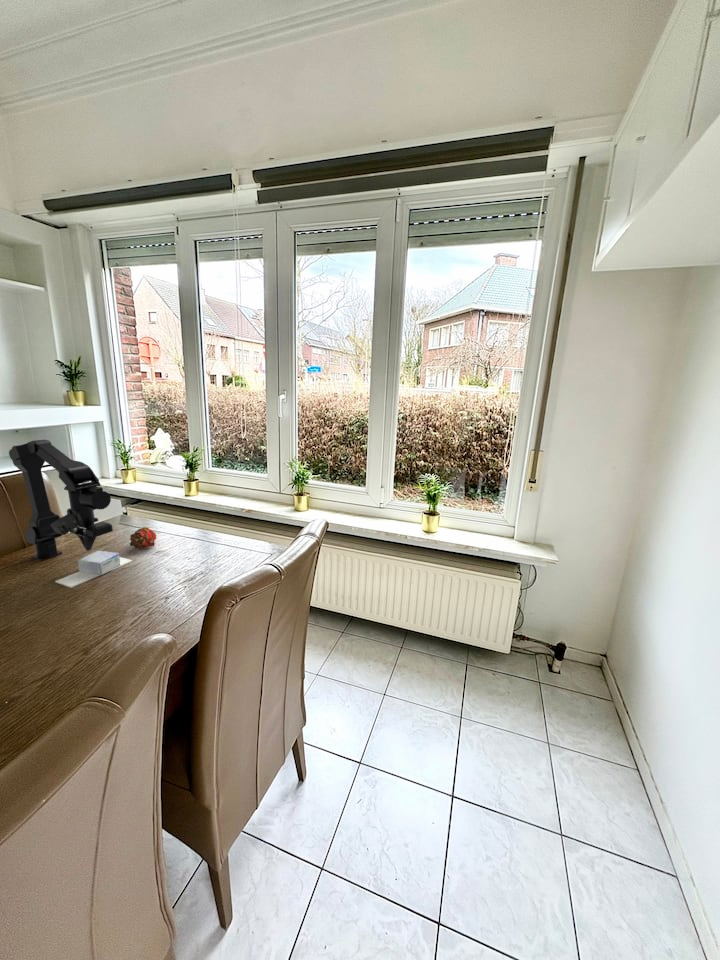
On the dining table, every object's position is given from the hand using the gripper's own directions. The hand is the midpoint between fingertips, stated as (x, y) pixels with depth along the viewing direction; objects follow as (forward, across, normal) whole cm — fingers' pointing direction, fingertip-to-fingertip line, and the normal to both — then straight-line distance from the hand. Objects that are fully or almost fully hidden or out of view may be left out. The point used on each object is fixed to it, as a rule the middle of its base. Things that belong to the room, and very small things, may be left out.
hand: (88, 549), depth 124 cm
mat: (+7, +2, 0) cm, 7 cm away
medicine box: (+4, -2, 0) cm, 5 cm away
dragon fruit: (+7, -1, +20) cm, 21 cm away
